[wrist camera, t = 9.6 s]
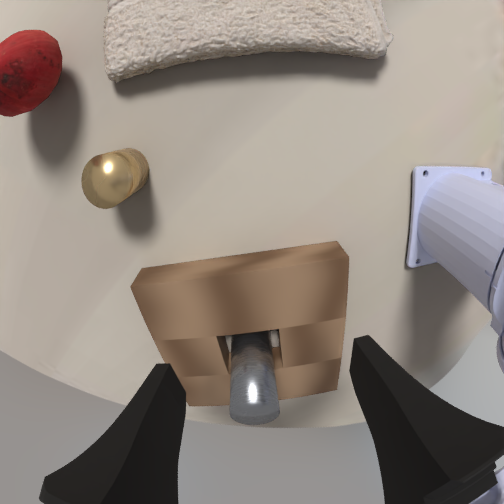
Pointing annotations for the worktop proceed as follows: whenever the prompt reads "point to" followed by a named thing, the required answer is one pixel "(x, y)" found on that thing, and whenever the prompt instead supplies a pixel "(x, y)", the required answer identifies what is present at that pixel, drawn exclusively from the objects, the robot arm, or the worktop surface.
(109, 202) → the short brass pin
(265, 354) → the long steel pin
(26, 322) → the worktop surface
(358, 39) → the washcloth
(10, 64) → the onion
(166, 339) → the walnut hole plate
